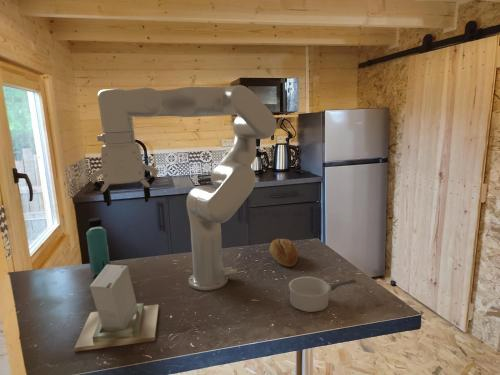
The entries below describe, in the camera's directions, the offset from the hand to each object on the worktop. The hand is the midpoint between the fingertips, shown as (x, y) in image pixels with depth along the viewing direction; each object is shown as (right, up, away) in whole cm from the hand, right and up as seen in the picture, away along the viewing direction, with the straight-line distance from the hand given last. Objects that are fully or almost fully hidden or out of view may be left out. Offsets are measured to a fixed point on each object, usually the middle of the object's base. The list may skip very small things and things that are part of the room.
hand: (128, 202), depth 92 cm
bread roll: (+45, -23, +35) cm, 61 cm away
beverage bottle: (-19, -26, +27) cm, 42 cm away
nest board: (-1, -32, -4) cm, 32 cm away
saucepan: (+54, -29, +6) cm, 61 cm away
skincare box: (0, -30, -4) cm, 30 cm away
